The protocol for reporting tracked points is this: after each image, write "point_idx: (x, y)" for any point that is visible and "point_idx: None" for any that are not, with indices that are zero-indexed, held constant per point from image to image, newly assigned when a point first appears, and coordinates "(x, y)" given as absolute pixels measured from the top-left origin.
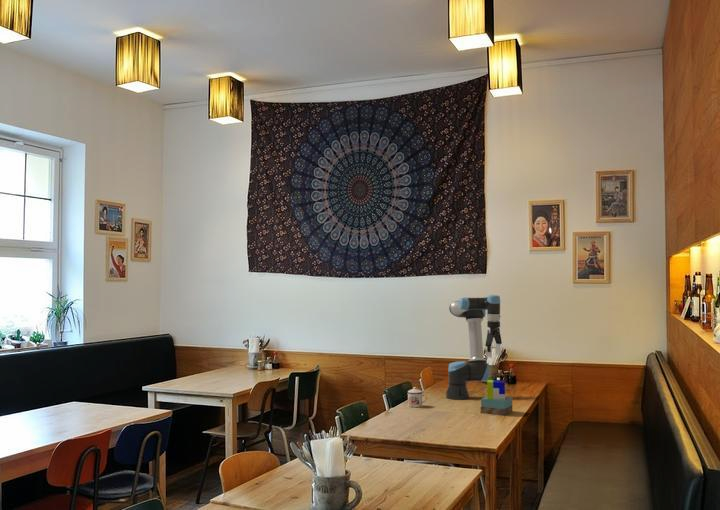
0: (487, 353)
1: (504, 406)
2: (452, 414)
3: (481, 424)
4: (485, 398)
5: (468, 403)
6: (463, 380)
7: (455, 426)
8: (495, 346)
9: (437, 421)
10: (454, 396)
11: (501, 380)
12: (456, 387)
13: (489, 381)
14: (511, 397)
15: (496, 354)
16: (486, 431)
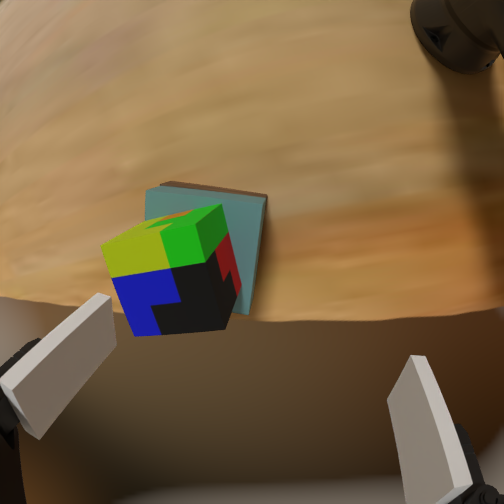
0: (68, 324)
1: None
2: (110, 97)
3: (41, 231)
4: (161, 207)
5: (358, 80)
6: (480, 29)
7: (6, 178)
8: (444, 447)
9: (25, 111)
10: (415, 14)
11: (199, 313)
12: (441, 8)
13: (124, 253)
14: (244, 312)
15: (404, 368)
16: (7, 258)
